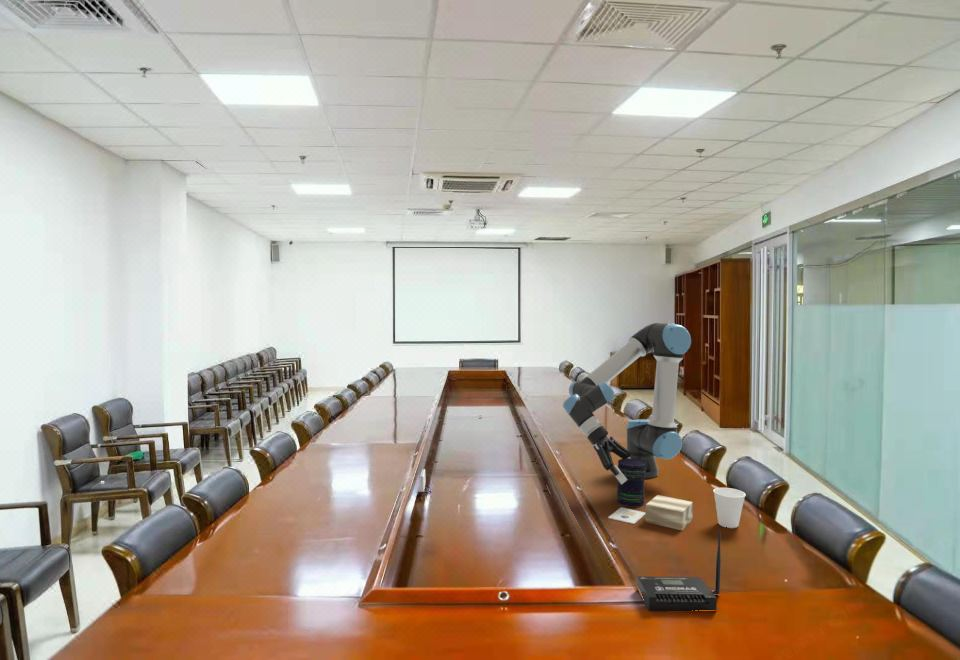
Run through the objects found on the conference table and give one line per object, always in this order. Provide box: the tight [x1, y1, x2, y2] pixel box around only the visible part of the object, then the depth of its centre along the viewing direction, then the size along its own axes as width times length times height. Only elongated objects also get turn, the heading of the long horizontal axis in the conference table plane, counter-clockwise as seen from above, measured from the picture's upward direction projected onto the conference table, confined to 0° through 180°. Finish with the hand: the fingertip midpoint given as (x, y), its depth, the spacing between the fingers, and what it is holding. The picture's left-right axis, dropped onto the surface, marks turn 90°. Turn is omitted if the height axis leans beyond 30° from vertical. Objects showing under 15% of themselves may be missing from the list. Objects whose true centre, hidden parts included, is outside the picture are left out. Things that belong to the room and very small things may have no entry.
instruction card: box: [607, 506, 646, 525], centre depth 201 cm, size 12×9×1 cm
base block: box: [644, 494, 694, 531], centre depth 197 cm, size 12×12×6 cm
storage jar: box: [616, 458, 646, 508], centre depth 214 cm, size 10×10×15 cm
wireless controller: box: [636, 529, 722, 612], centre depth 144 cm, size 20×14×17 cm
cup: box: [712, 487, 747, 529], centre depth 193 cm, size 10×10×11 cm
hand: (631, 477), depth 214 cm, fingers open, 13 cm apart
